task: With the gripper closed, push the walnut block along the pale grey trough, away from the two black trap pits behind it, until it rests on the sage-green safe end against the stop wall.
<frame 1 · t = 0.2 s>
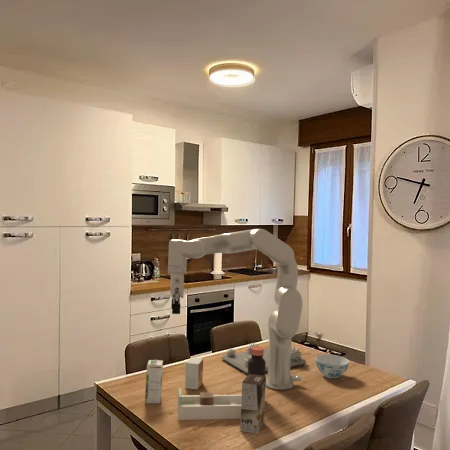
hand: (175, 311, 174), 31 cm above the table, tool pointing down, fingers open, 9 cm apart
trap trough: (217, 412, 152), on the table
decorative tray: (264, 364, 208), on the table
bottle: (255, 400, 164), on the table
walnut block: (206, 406, 151), point 2 cm above the table, touching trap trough
syrup box: (153, 401, 160), on the table
small box: (193, 386, 176), on the table
coffee box: (252, 427, 142), on the table
chinaware: (331, 376, 193), on the table
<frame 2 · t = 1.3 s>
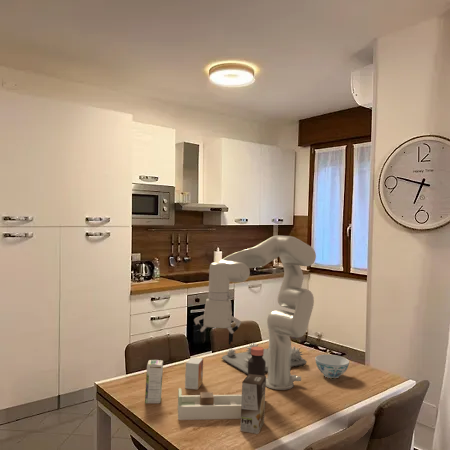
hand: (216, 342, 156), 24 cm above the table, tool pointing down, fingers open, 9 cm apart
nothing on the table moved.
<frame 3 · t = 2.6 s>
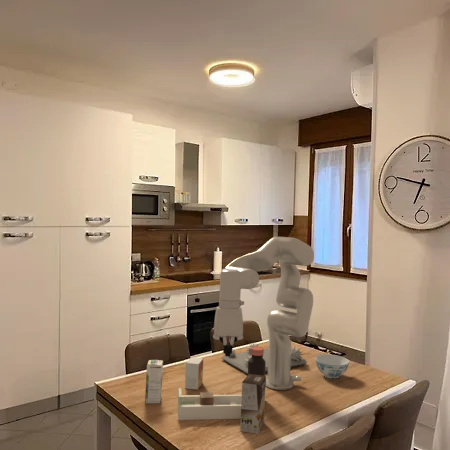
hand: (227, 355, 152), 21 cm above the table, tool pointing down, fingers closed
nothing on the table moved.
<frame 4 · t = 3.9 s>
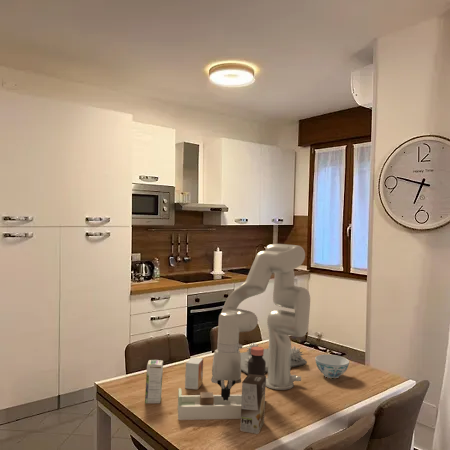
hand: (225, 398, 152), 5 cm above the table, tool pointing down, fingers closed
nothing on the table moved.
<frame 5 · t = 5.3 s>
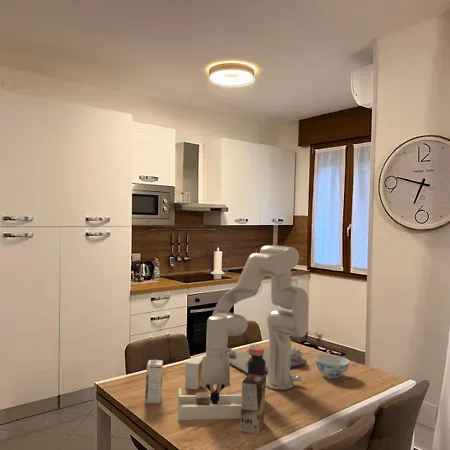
hand: (214, 402, 151), 4 cm above the table, tool pointing down, fingers closed
walnut block: (202, 406, 151), point 3 cm above the table, touching gripper, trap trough
everything else where it was.
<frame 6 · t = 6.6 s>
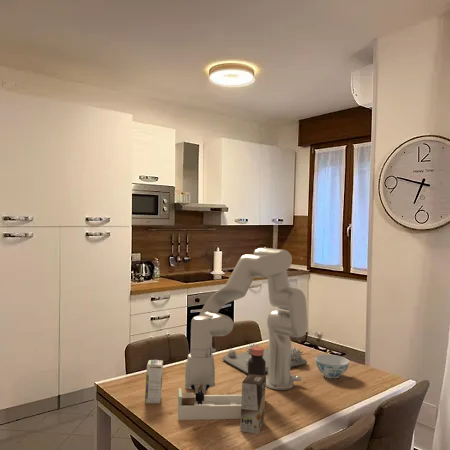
hand: (199, 402, 151), 4 cm above the table, tool pointing down, fingers closed
walnut block: (187, 406, 150), point 2 cm above the table, touching gripper, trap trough
everything else where it was.
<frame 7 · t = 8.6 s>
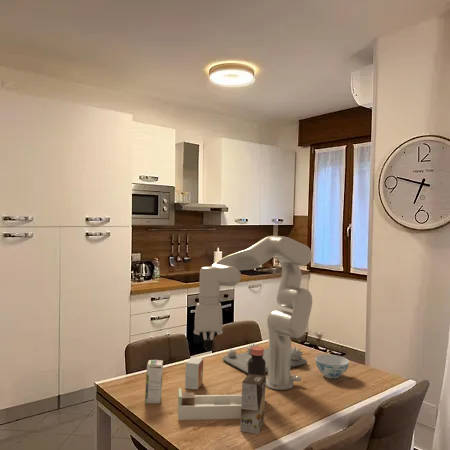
hand: (207, 349, 157), 21 cm above the table, tool pointing down, fingers closed
walnut block: (187, 406, 150), point 2 cm above the table, touching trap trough
everything else where it was.
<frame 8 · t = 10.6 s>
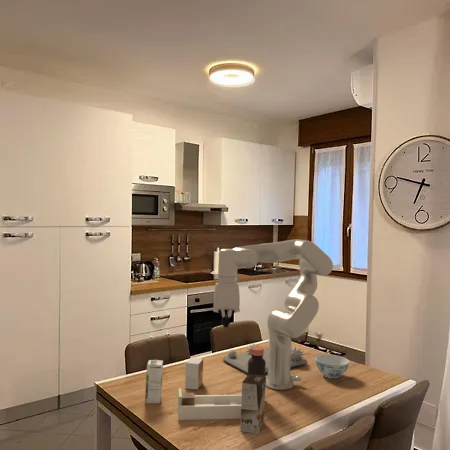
hand: (225, 326, 167), 27 cm above the table, tool pointing down, fingers closed
nothing on the table moved.
at the end: walnut block 1.1 cm from the target spot on the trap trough, point 2.5 cm above the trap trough's base; walnut block tilted 0°; walnut block moved 6.7 cm from its start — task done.
